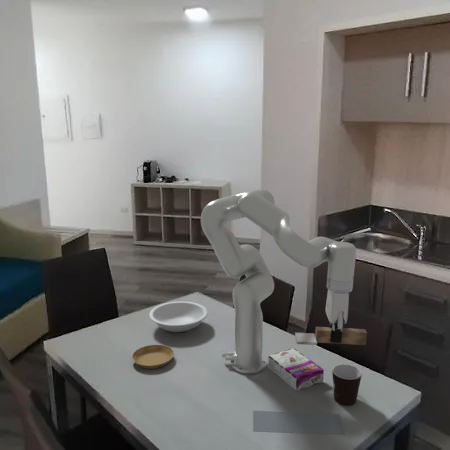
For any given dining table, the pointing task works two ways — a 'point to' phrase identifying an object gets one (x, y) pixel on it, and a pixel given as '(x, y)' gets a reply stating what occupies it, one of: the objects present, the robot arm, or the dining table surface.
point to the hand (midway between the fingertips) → (334, 339)
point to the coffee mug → (346, 383)
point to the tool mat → (297, 422)
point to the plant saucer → (153, 356)
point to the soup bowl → (178, 315)
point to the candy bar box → (295, 369)
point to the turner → (325, 334)
